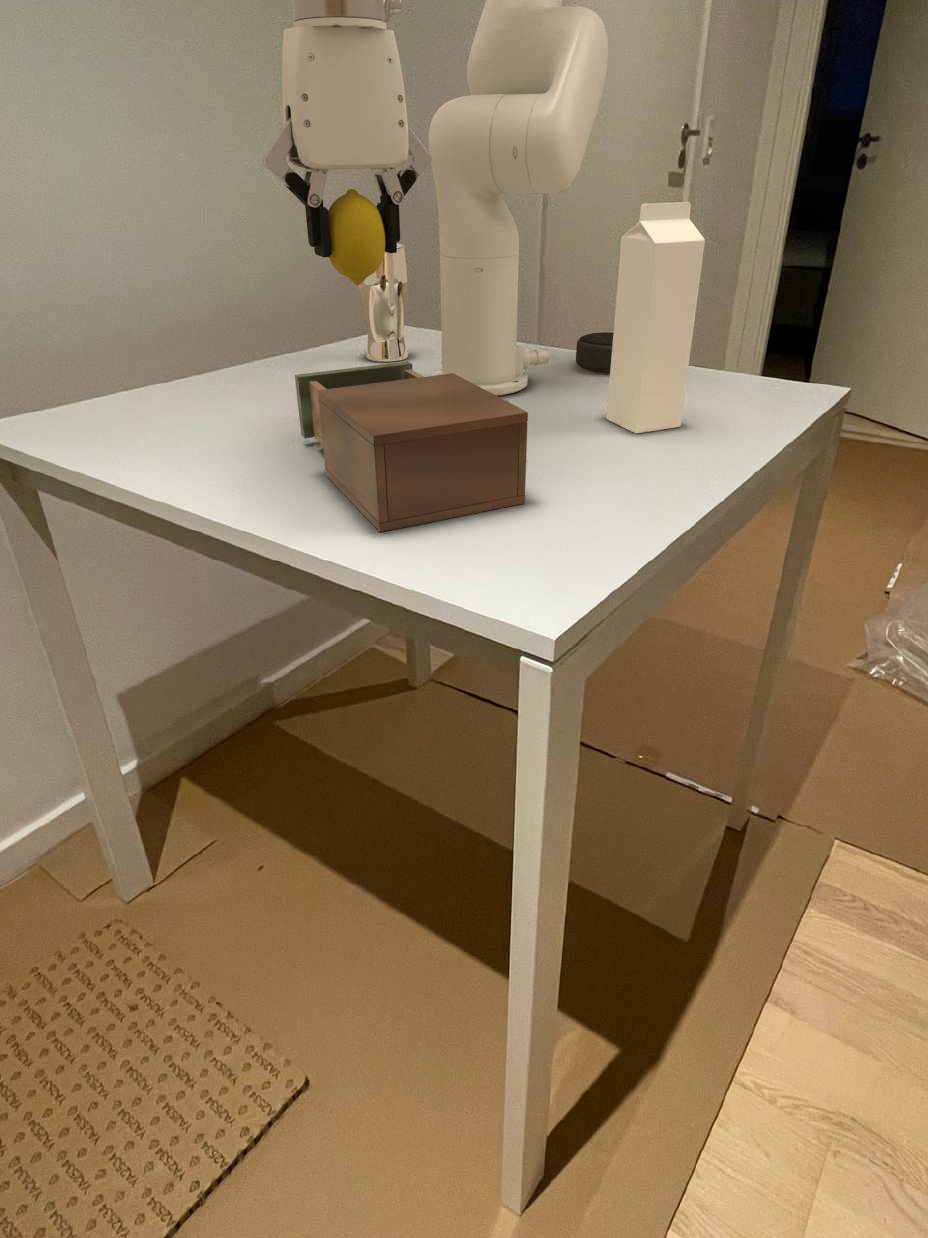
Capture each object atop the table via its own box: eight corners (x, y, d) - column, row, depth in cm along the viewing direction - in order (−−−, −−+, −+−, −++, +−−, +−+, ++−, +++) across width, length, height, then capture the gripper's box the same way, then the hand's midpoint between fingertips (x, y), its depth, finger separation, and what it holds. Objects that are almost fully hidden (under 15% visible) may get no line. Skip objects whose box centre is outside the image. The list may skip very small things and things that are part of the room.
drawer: (283, 417, 91) (276, 359, 87) (387, 403, 95) (384, 347, 92) (342, 476, 75) (336, 408, 71) (463, 456, 79) (463, 391, 76)
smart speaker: (618, 379, 107) (620, 347, 105) (562, 368, 112) (564, 338, 110) (651, 366, 113) (654, 336, 111) (597, 357, 118) (599, 328, 116)
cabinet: (325, 475, 77) (317, 390, 73) (454, 453, 82) (453, 372, 78) (379, 532, 66) (373, 435, 62) (525, 503, 71) (528, 412, 67)
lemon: (377, 290, 73) (372, 190, 69) (319, 288, 74) (310, 190, 70) (394, 281, 78) (390, 187, 74) (340, 280, 79) (332, 187, 75)
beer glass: (364, 352, 122) (356, 242, 114) (410, 351, 122) (406, 241, 115) (363, 363, 116) (355, 248, 108) (411, 362, 116) (407, 247, 109)
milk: (680, 427, 90) (712, 203, 78) (634, 434, 87) (660, 205, 76) (648, 412, 94) (674, 199, 83) (604, 418, 92) (624, 201, 81)
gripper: (419, 19, 72) (425, 244, 81) (222, 9, 65) (253, 254, 74) (455, 8, 66) (457, 252, 75) (242, -4, 59) (273, 264, 69)
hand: (355, 251), depth 75 cm, fingers closed on lemon, 5 cm apart
